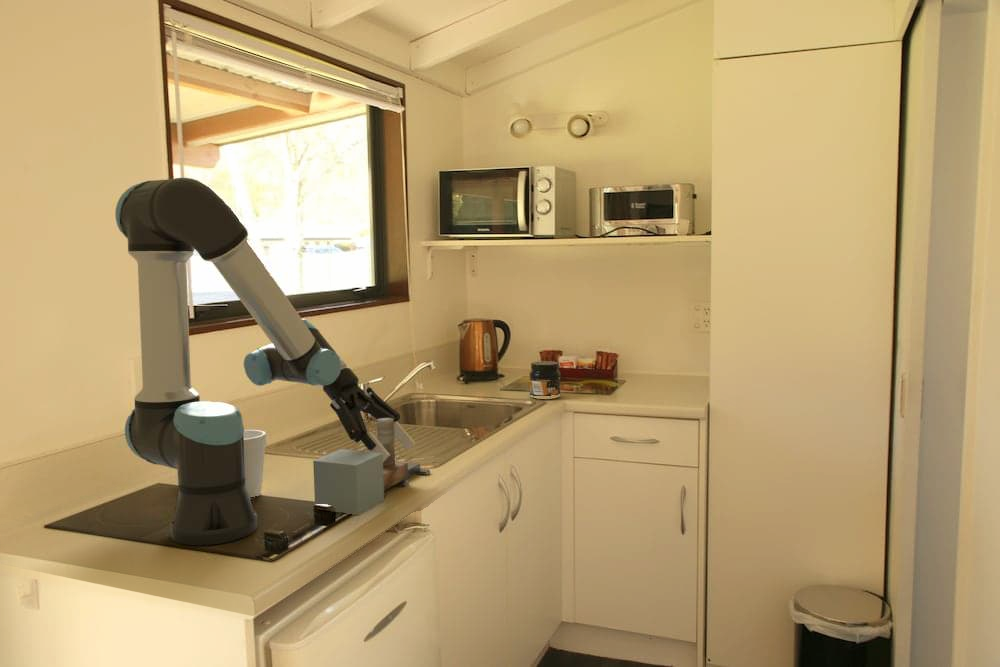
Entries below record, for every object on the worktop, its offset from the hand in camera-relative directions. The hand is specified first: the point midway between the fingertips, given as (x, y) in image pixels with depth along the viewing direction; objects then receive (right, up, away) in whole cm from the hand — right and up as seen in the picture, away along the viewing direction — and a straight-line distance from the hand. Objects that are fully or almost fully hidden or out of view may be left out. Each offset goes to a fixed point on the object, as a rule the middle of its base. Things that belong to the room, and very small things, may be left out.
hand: (398, 453), depth 176 cm
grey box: (-8, -9, -11) cm, 17 cm away
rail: (-2, -7, +3) cm, 8 cm away
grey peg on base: (-4, -7, -1) cm, 8 cm away
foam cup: (-32, -9, -3) cm, 33 cm away
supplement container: (+37, +4, +102) cm, 109 cm away
